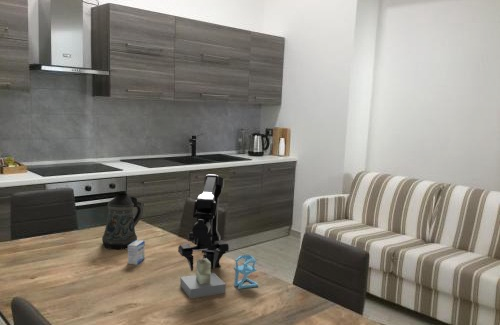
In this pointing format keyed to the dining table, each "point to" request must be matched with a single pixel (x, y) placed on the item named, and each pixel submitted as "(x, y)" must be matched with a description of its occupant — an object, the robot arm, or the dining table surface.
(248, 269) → the light blue lattice frame
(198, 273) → the sage block
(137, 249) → the medicine box
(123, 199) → the beer stein
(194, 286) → the grey block
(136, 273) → the dining table surface
